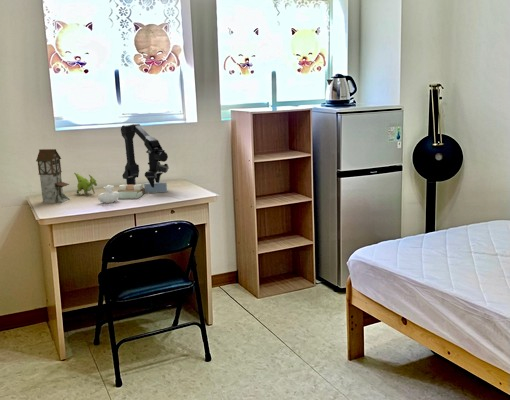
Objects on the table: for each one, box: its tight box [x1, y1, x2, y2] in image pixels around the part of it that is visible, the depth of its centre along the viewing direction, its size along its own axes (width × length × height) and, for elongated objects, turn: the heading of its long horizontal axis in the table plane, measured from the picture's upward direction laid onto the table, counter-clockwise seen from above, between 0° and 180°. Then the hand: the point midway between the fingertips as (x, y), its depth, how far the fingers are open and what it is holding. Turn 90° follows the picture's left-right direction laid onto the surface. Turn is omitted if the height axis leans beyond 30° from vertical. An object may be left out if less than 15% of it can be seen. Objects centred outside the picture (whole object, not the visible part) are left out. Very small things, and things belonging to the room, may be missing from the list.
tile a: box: [118, 184, 127, 190], centre depth 331 cm, size 4×4×2 cm
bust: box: [97, 184, 119, 204], centre depth 309 cm, size 12×8×11 cm
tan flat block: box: [116, 187, 146, 194], centre depth 331 cm, size 8×14×3 cm, turn 81°
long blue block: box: [143, 181, 168, 194], centre depth 336 cm, size 4×13×6 cm, turn 93°
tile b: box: [126, 184, 134, 190], centre depth 331 cm, size 4×4×2 cm
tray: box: [118, 191, 143, 200], centre depth 323 cm, size 9×17×4 cm, turn 81°
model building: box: [35, 148, 71, 204], centre depth 316 cm, size 10×15×30 cm
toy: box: [73, 172, 98, 196], centre depth 336 cm, size 8×21×15 cm
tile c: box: [134, 183, 144, 190], centre depth 330 cm, size 4×4×2 cm
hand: (155, 186), depth 336 cm, fingers open, 9 cm apart
